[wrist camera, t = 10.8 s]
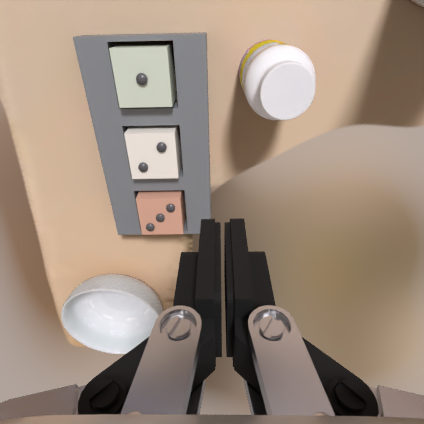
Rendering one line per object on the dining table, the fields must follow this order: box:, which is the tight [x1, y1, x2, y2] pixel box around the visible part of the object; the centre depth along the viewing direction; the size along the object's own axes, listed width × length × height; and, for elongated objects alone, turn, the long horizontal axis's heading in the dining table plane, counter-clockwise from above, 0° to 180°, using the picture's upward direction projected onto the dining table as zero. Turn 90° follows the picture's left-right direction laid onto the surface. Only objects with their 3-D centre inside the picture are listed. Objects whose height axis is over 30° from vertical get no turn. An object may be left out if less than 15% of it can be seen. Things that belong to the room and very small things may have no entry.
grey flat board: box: [73, 33, 211, 235], centre depth 41 cm, size 14×26×3 cm, turn 1°
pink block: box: [136, 190, 185, 235], centre depth 45 cm, size 6×6×4 cm
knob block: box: [109, 44, 176, 108], centre depth 35 cm, size 6×6×4 cm
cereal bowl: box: [61, 274, 163, 354], centre depth 55 cm, size 17×17×7 cm
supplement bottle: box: [239, 39, 316, 120], centre depth 31 cm, size 7×7×13 cm
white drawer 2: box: [124, 125, 181, 179], centre depth 40 cm, size 6×6×4 cm
